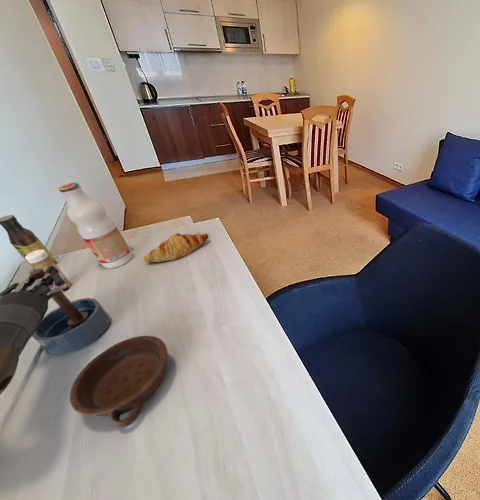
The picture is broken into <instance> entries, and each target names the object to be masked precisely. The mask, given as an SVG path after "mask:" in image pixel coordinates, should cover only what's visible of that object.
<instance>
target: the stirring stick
mask: <svg viewBox="0 0 480 500" xmlns="http://www.w3.org/2000/svg"><path fill="white" fill-rule="evenodd" d="M44 273H45V272H44V270H43V269H41V268H40V269H36V270H35V269H33V270H32V271H31V272H29V276H30V275H31V276H32V277H33V278H34V279H35V280H37V279H40V278H41V277H42V276H43V274H44ZM51 299H52V300H53V301H54V302H55V304H56V305H57V306H58V307H60V308H61V309H62V310H63V311H64V312H65V313H66V314H67V315H68V316H69V318H70V319H69V320H68V322H67V324H68V325H69V326H70V327H71V328H72V329H74V328H75V327H77V326H79V325H80V324H82V323H83V322H84V321H85V320H87V319H88V318H89V317H90V315H89V314H88V313H87V312H81V313H80V312H79V311H78V310H77V308H76V307H75V306H74V305H73V304H72V303H71V302H72V301H71V300H70V299H69V298H68V297H67V295H65V293H64V291H57V292H55V293H54V296H53V297H52V298H51Z"/></svg>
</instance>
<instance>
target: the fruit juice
mask: <svg viewBox="0 0 480 500" xmlns="http://www.w3.org/2000/svg"><path fill="white" fill-rule="evenodd" d="M58 191H59V192H60V194H62V195H63V196H64V198H65V200H66V205H67V209H66V216H67V218H68V219H69V221H70V222H72V223H73V224H74V225H75V226H76V230H77V232H78V235H80V237H81V239H82V240H83V241H84V242H85V244H86V246H87V247H88V248H89V249H90V251H91V252H92V254H93V255H94V256H95V258H96V259H97V260H98V262H99V263H100V265H101V266H102V267H103V268H105V269H114V268H118V267H121V266H123V265H125V264H127V263H128V262H130V261H131V260H132V258H133V257H134V254H133V251H132V249H131V248H130V246H129V244H128V243H127V241H126V240H125V239H124V236H123V235H122V233H121V232H120V231H119V229H118V227H117V226H116V224H115V222H114V221H113V219H112V218H111V217H110V216H108V215H107V214H106V209H105V207H104V206H103V205H102V203H100V202H99V201H97V200H95V199H93V197H92V198H91V196H89V195H88V194H87V193H86V192H84V190H83V189H82V186H81V185H80V183H79V182H76V181H75V182H69V183H66V184H63V185H60V187H58Z"/></svg>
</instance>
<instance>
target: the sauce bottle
mask: <svg viewBox="0 0 480 500" xmlns="http://www.w3.org/2000/svg"><path fill="white" fill-rule="evenodd" d="M0 226H1V227H2V228H3V229H4V230H5V231H6V233H7V236H8V240H9V244H10V245H11V246H12V247H13V248H14V249H15V250H16V251H17V252H18V253H19V255H20V256H21V257H22V258H23V259H24V260H25V261H26V262H27V263H28V264H29V266H31V268H32V269H33V270H36V269H35V268H34V267H33V265H32V264H30V263H29V262H28V261H27V260H26V259H25V257H26V255H28V254H29V253H31V252H33V251H36V250H45V251H46V252H47V254H48V255H49V257H50V258H51V260H52V261H53V262H54V263H55V264H56V265H57V260H56V259H55V257H54V256H53V254H52V253H51V252H50V251H49V249H48V248H47V247H46V246H45V245H44V244H43V242H42V241H41V240H40V239H39V238H38V237H37V235H35V233H34V232H33V231H31V230H30V229H28V228H25V227H24V226H23V225H21V224H20V222H19V221H18V219H17V217H16V216H15V215H14V214H8V215H4V216H2V217H0Z"/></svg>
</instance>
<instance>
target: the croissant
mask: <svg viewBox="0 0 480 500" xmlns="http://www.w3.org/2000/svg"><path fill="white" fill-rule="evenodd" d="M208 239H209V234H208V233H207V232H206V233H202V234H200V233H195V234H190V233H187V234H186V233H184V234H181V233H178V232H177V233H174V234H172V235H171V236H169V237H168V239H167V240H164V241H162V242H160V243H159V244H158V246H157V247H155V248H153V249H151V250H150V251H149V252H148V254H147V255H145V256H143V261H144V262H147V263H159V262H167V261H174V260H177V259H179V258H181V257H184V256H187V255H188V254H190V253H192V252H193V251H194V250H196V249H197V248H199V247H201V246H202V245H203V244H205V243H206V241H207V240H208Z"/></svg>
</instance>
